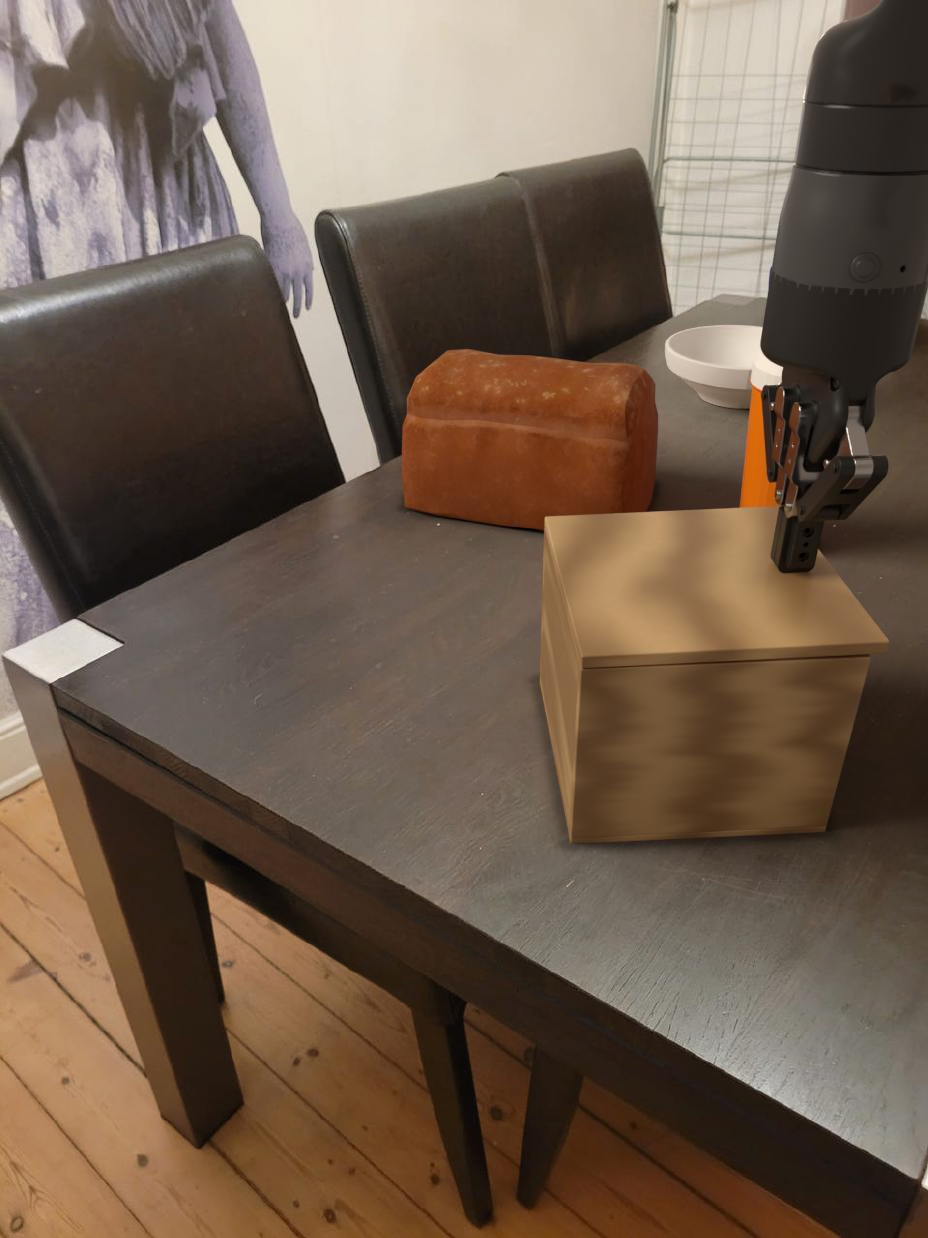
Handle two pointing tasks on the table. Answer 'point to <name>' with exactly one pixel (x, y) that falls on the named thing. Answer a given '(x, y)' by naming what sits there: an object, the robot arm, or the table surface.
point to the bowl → (716, 361)
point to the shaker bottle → (758, 439)
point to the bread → (528, 439)
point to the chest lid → (698, 591)
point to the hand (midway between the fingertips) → (790, 566)
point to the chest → (693, 739)
